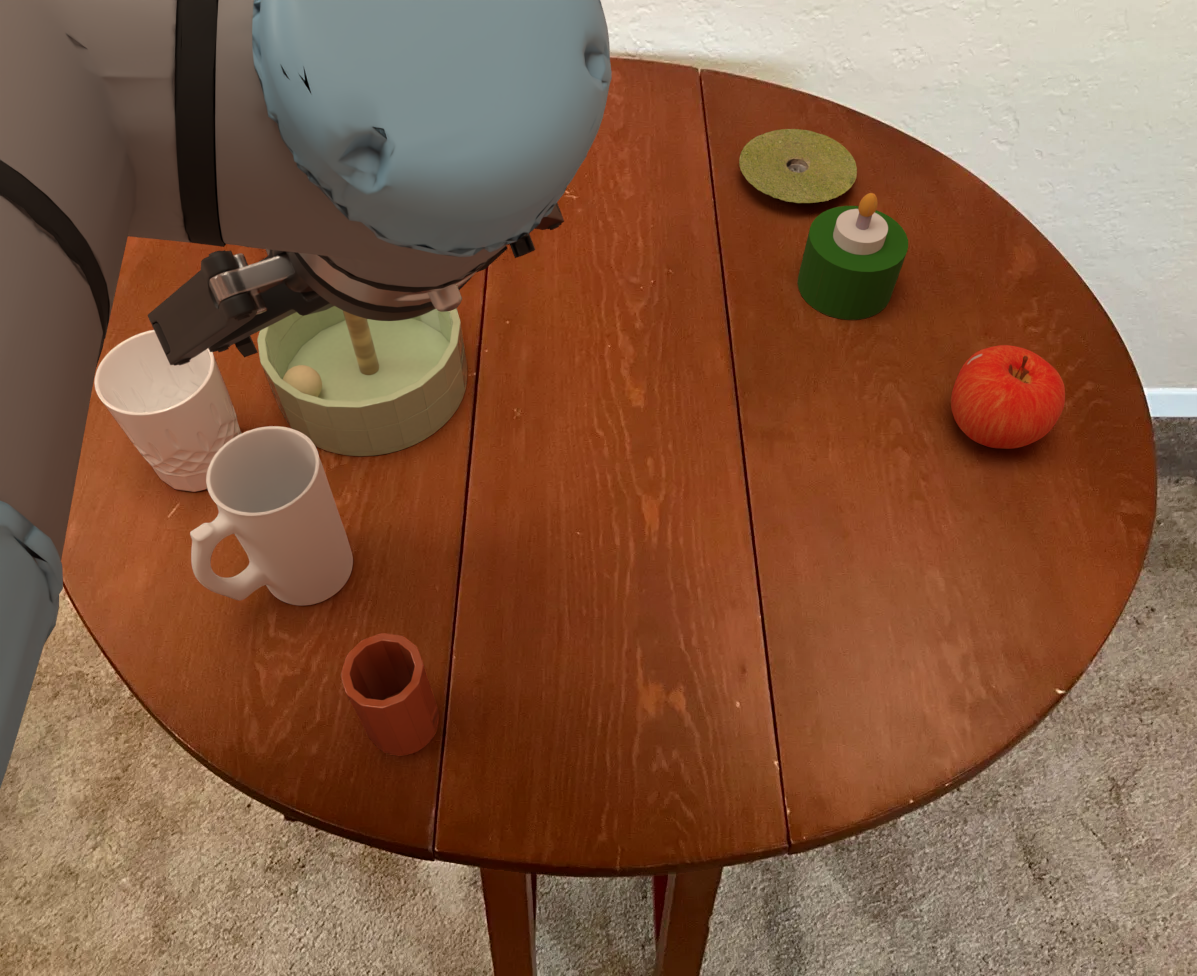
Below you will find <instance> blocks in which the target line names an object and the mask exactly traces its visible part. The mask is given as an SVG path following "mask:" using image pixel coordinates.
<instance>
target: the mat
mask: <svg viewBox="0 0 1197 976" xmlns="http://www.w3.org/2000/svg"><path fill="white" fill-rule="evenodd" d="M738 159H739V160H738V165H739V168H740V172H741V173H742V175H743V177H744V178H745V180H746V181H747V182H748V183H749V184H750V185H751V186H752V187H754V188H755V189H756V190H757V191H759V192H761V193H763V194H765V195H768V196H770V197H772V198H773V199H779V200H780V201H784V202H787V203H788V202H789V203H795V204H813V203H814V204H815V203H820V202H822V203H823V202H829V200H832V199H836V198H838V197H839V196H842V195H843V194H845V193H846V192H848V191H849V190H850V189H851V188H852V187H853V185H854V184H855V182H856V179H857V176H858V175H857V174H858V167H857V162H856V159H855V158H854V156H853V155H852V153H851V152H850V151H849V150H848V149H847V148H846V147H845V146H844V145H843V144H842V143H840V142H839V141H837V140H836V139H834V138H832V137H830V136H828V135H826V134H822V133H819V132H816V131H813V130H808V129H801V128H785V129H784V128H782V129H775V130H772V131H771V130H770V131H767V132H765V133H762V134H760V135H757V136H755V137H754V138H752V139H750V140H749V141H748V142H747V143H746V144H745V145H744V146H743V148H742V150H741V152H740V154H739V158H738Z"/></svg>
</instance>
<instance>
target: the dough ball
mask: <svg viewBox="0 0 1197 976" xmlns="http://www.w3.org/2000/svg"><path fill="white" fill-rule="evenodd" d="M283 380H284V381H285V382H287V383H288V384H290V385H291V386H293V387H294V388H295V389H297V390H298V391H300V392H301V393H305V394H308V395H311V396H315V397H318V396H319V394H320V392H321V390H322V380H321V377H320V375H319V374H318V373H317V371H315V370H314V369H313V368H311V367H309V366H305V365H298V366H294V367H292V368H290V369H289V370H288V371H287V372H286V373H285V375H284V377H283Z"/></svg>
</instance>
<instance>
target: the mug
mask: <svg viewBox="0 0 1197 976" xmlns="http://www.w3.org/2000/svg"><path fill="white" fill-rule="evenodd" d="M241 433H242V434H240V435H238V436H236V437H234V438H233V439H231V440H230V441H228V442H227V443H226V444H225V445H224V446H223V447H222V448H221V449H220V450H219V451H218V452H217V453H216V454H215V456H214V457H213V459H212V461H211V463H210V465H209V468H208V471H207V477H206V483H207V489H206V490H207V491H208V495H209V496H210V498H211V500H212V501H213V502H214V504H216V507H217V510H218V513H217V516H216V517H215V518H214V519H213V520H212V521H210V522H203V523H201V524H200V525H198V526H197V527H196V528H194V529H192V530H191V531H190V532H189V535H190V538H191V551H190V552H191V553H190V561H191V569H192V572H193V575H194V577H195V579H196V580H197V581H198V582H199V583H200V585H201V586H203V587H204V588H205V589H207V590H209V591H210V592H213V593H215V594H218V595H221V596H223V597H227V598H230V599H233V600H235V601H238V602H239V601H240V602H241V601H244V600H245V599H247V598H249V597H250V596H251V595H252V594H253V593H254V592H256V591H257V590H258V589H260V588H262V587H264V586H266V588H267V589H268V591H269V592H270V593H271V594H272V595H273V596H274V597H275V598H277V600H280V601H281V602H283V603H285V604H289V605H293V606H300V607H301V606H311V605H315V604H320V603H322V602H324V601H327V600H328V599H330V598H332V597H333V596H335V595H336V594H337V593H338V592H339V591H340V590H342V588H343V587H344V586H345V585H346V584H347V582H348V580H349V579H350V576H351V574H352V571H353V565H354V557H353V552H352V548H351V544H350V542H349V539H348V536H347V532H346V530H345V527H344V524H343V521H342V518H341V516H340V513H339V510H338V506H337V503H336V500H335V498H334V495H333V492H332V488H331V485H330V482H329V480H328V477H327V474H326V471H325V468H324V466H323V465H324V464H323V463H322V460H321V458H320V454H319V451H318V449H317V447H316V446H315V445H314V443H313V442H312V441H311V440H310V439H309V438H308V437H307V436H306V435H304V434H303V433H301V432H299V431H297V430H294V429H292V428H291V427H286V426H279V425H274V426H273V425H269V426H261V427H256V428H253V429H249V430H246V431H244V432H241ZM231 535H234V536H235V537H236V540H237V541H238V542H239V544H240V545H241V547H242V549H243V550H244V552H245V554H246V555H247V558H248V561H249V563H248V565H247V566H246V568H245V569H244V570H242V571H241V572H240V573H238V574H236V575H234V576H230V577H223V576H221V575H218V574H217V573H215V571H214V570H213V568H212V563H211V560H212V555H213V552H214V550H215V548H216V547H217V545H218V544H219V543H220V542H221V541H222V540H224V539H225V538H227V537H229V536H231Z"/></svg>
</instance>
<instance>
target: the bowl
mask: <svg viewBox="0 0 1197 976" xmlns="http://www.w3.org/2000/svg"><path fill="white" fill-rule="evenodd" d="M367 321H368V325H369V328H370V332H371V336H372V340H373V344H374V348H375V351H376V355H377V359H378V363H379V370H378V371H377V372H376V373H375V374H372V375H364V374H362V373H361V372H360V369H359V366H358V362H357V359H356V355H355V352H354V348H353V345H352V341H351V338H350V334H349V331H348V327H347V324H346V320H345V317H344V313H343V310H341V309H339V308H337V307H336V306H333V307H331V308H329V309H327V310H324V311H321V312H317V313H313V314H309V315H305V316H302V315H299V314H298V313H297V312H296V313H294V314H292V315H290V316H288V317H286V318H284V319H282V320H280V321H278V322H276V323H274V324H272V325H270V326H268V327H266V328H264V329H262V330H260V331H258V332H259V333H258V335H257V340H256V341H257V348H258V356H259V363H260V365H261V368H262V370H263V372H264V375H265V377H266V380H267V382H268V384H269V387H270V390H271V392H272V394H273V397H274V400H275V402H276V404H277V407H278V409H279V410H280V412H281V414H282V416H283V418H284V420H285V421H286V423H287V424H288V427H289V428H291V429H294V430H297V431H299V432H301V433H303V434H304V435H306V436H307V437H308V438H309V439H310V440H311V441H312V442H313V443H314V445H315V447H316V448H319V449H321V450H324V451H326V452H330V453H332V454H338V455H342V456H348V457H349V456H351V457H375V456H381V455H387V454H391V453H395V452H399V451H402V450H405V449H407V448H410V447H412V446H414V445H417V444H419V443H420V442H423V441H424V440H426V439H428V438H429V437H430V436H433V435H434V434H436V432H438V431H439V430H440V429H441V428H442V427H443V426H444V425H445V424H447V423H448V421H449V420H451V418H452V417H453V415H454V414H455V413H456V412H457V410H458V409H459V407H460V405H461V403H462V401H463V399H464V395H465V394H466V389H467V384H468V362H467V355H466V349H465V348H466V347H465V342H464V335H463V328H462V322H461V318H460V315H459V312H458V307H457V308H456V309H454V310H452V311H445V312H440V311H438V310H437V309H434V310H432V311H430V312H428V313H426V314H424V315H421V316H418V317H415V318H411V319H406V320H399V321H378V320H371V319H367ZM298 365H305V366H309V367H311V368H313V369H314V370H315V371H317V373H318V374H319V375H320V377H321V380H322V390H321V392H320V394H319V396H318V397H315V396H311V395H308V394H305V393H301V392H300V391H298V390H297V389H295V388H294V387H293V386H291V385H290V384H288V383H287V382H285V381H284V380H283V377H284V375H285V373H286V372H287V371H288V370H289V369H290V368H292V367H294V366H298Z"/></svg>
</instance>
